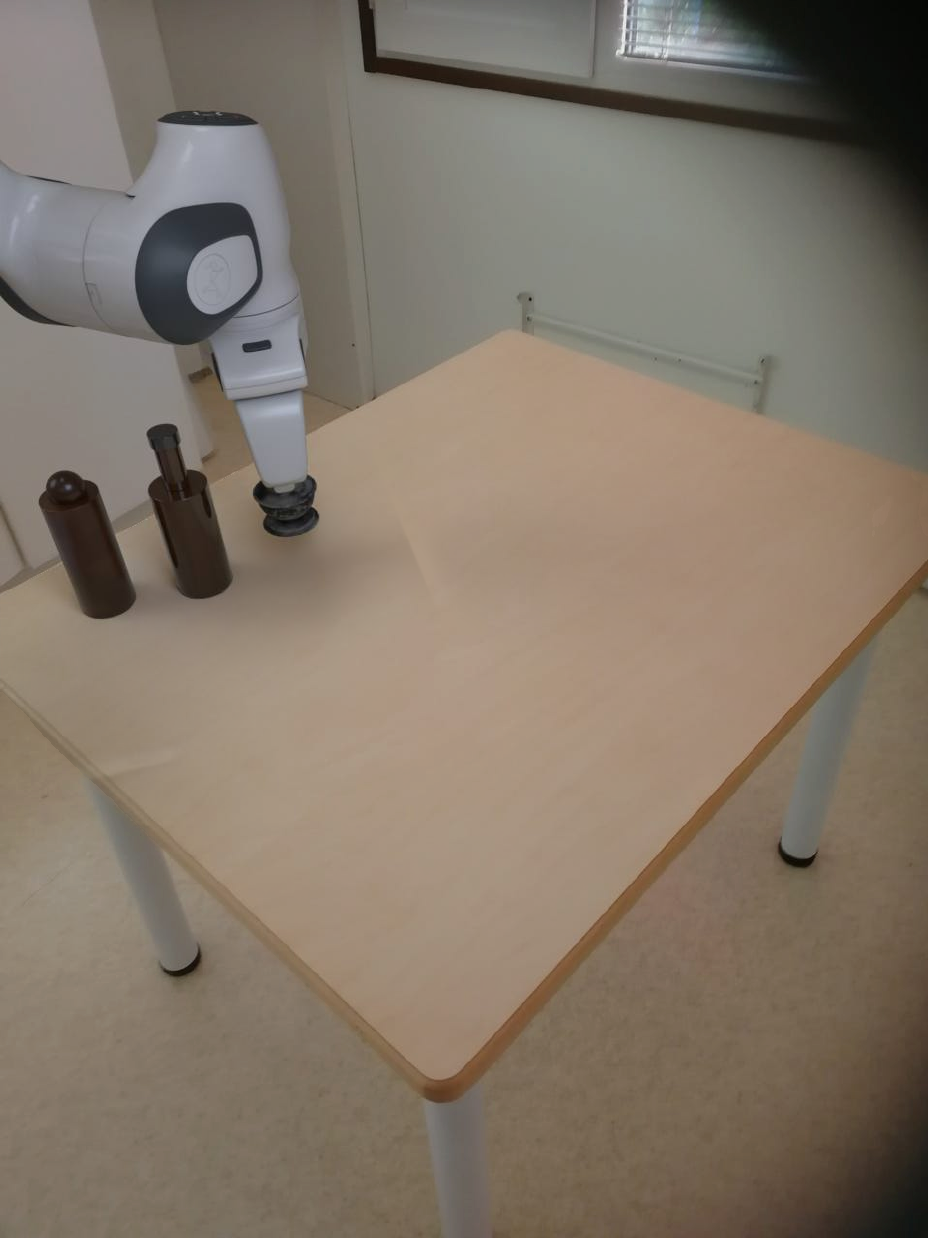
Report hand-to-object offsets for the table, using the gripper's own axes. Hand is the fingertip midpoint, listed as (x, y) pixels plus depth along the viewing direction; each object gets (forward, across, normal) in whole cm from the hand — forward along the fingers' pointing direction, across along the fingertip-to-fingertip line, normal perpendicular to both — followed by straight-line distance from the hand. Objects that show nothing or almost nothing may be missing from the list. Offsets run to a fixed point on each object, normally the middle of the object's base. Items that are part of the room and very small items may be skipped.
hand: (280, 474), depth 86 cm
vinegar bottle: (+10, 0, -9) cm, 14 cm away
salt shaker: (+5, 0, 0) cm, 5 cm away
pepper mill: (+10, 0, -18) cm, 21 cm away
